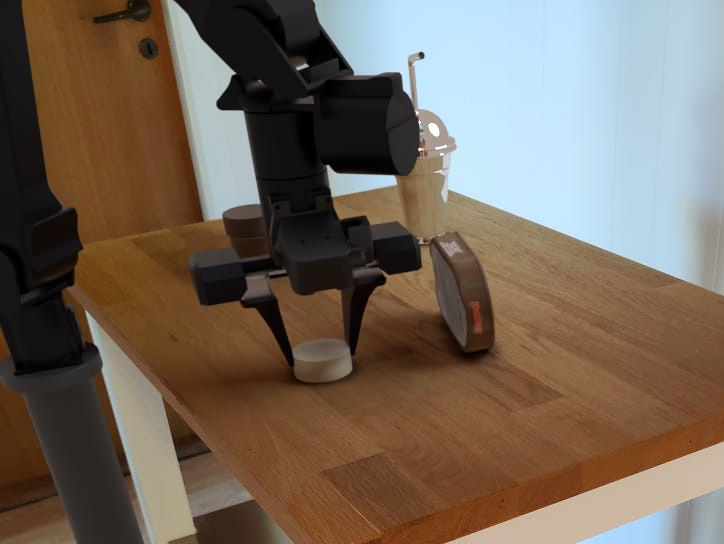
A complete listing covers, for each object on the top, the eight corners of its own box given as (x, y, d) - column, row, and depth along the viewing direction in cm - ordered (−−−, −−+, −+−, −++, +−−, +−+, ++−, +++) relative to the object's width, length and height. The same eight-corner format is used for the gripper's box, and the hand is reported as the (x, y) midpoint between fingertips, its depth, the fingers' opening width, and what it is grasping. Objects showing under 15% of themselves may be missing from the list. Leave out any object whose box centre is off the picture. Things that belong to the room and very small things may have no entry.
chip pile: (238, 279, 111) (226, 222, 107) (229, 263, 115) (218, 208, 112) (293, 269, 112) (284, 214, 108) (283, 254, 117) (273, 200, 113)
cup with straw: (468, 227, 121) (457, 37, 109) (454, 251, 114) (440, 51, 102) (401, 228, 122) (382, 40, 110) (382, 251, 116) (360, 54, 103)
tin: (499, 363, 88) (495, 266, 83) (465, 368, 88) (458, 271, 82) (462, 307, 100) (455, 219, 94) (431, 311, 99) (423, 223, 94)
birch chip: (300, 387, 86) (296, 365, 85) (289, 366, 90) (285, 344, 89) (358, 376, 87) (355, 354, 86) (344, 355, 91) (341, 334, 90)
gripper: (183, 213, 70) (229, 417, 80) (433, 177, 75) (449, 374, 84) (168, 179, 79) (211, 367, 88) (393, 148, 83) (411, 330, 93)
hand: (321, 360), depth 88 cm, fingers closed on birch chip, 5 cm apart
